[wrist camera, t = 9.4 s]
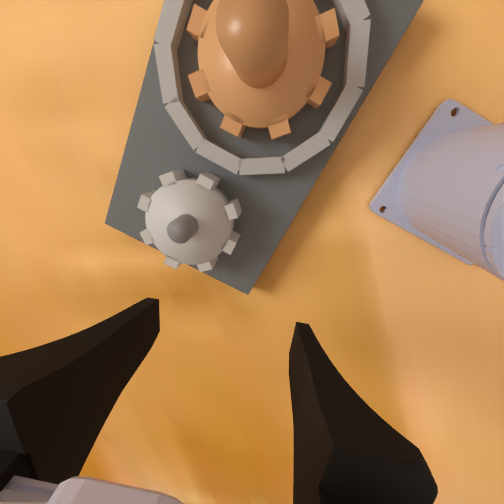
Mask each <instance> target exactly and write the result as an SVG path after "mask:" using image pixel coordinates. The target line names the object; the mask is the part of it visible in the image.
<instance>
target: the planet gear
mask: <svg viewBox="0 0 504 504" xmlns="http://www.w3.org/2000/svg"><path fill="white" fill-rule="evenodd" d="M186 30H187V31H188V32H189V33H190V35H191V36H192V37H193V38H194V40H195V41H197V42H198V65H199V70H198V71H196V72H194V73H192V74H189V75H188V78H189V81H190V83H191V86H192V89H193V92H194V95H195V97H196V98H197V99H198V100H200V101H202V102H205V101H207V100H209V99H211V100H212V101H213V103H214V104H215V106H216V107H217V108H218V109H219V110H220V111H221V112H222V113H223V114H225V116H224V118H223V121H222V123H221V126H220V128H222V129H224V130H226V131H227V132H229V133H231V134H233V135H235V136H237V137H240V138H241V137H242V135H243V132H244V130H245V128H246V127H249V128H255V129H267V128H269V132H270V135H271V139H272V140H274V139H277V138H280V137H282V136H285V135H288V134H290V133H291V131H290V127H289V123H288V120H290V119H291V118H293V117H294V116H295V115H296V114H297V113H298V112H299V111H300V110H301V109H302V108H303V107H304V106H305V104H306V103H307V104H309V105H311V106H312V107H314V108H316V109H317V108H318V107H319V106H320V105H321V103H322V101H323V99H324V97H325V95H326V93H327V91H328V90H329V88H330V86H331V84H332V82H330V81H328V80H326V79H325V78H323V77H321V76H320V75H321V72H322V68H323V63H324V56H325V50H326V49H329V48H331V47H333V46H335V44H336V42H337V40H338V38H339V36H340V35H339V29H338V23H337V18H336V12H335V8H333V9H331V10H329V11H326V12H324V13H322V14H319V11H318V9H317V7H316V5H315V3H314V1H313V0H213V2H212V3H211V5H210V7H209V9H208V11H206V10H205V9H203V8H201V7H199V6H198V5H196V4H194V6H193V9H192V13H191V16H190V19H189V23H188V26H187V29H186Z"/></svg>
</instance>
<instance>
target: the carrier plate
mask: <svg viewBox="0 0 504 504" xmlns="http://www.w3.org/2000/svg"><path fill="white" fill-rule="evenodd" d="M313 1H314V3H315V5H316V7H317V9H318V11H319V14H322V13H324V12H326V11H329V10H331V9H333V8H335V12H336V18H337V23H338V29H339V35H340V36H339V38H338V40H337V42H336V44H335V46H333V47H331V48H329V49H326V50H325V56H324V63H323V68H322V72H321V75H320V76H321V77H323V78H325V79H326V80H328V81H330V82H332V84H331V86H330V88H329V90H328V91H327V93H326V95H325V97H324V99H323V101H322V103H321V105H320V106H319V107H318V108H317V109H316V108H314V107H312V106H311V105H309V104H307V103H306V104H305V106H304V107H303V108H302V109H301V110H300V111H299V112H298V113H297V114H296V115H295V116H294V117H293V118H291V119H290V120H288V123H289V127H290V131H291V133H290V134H288V135H285V136H282V137H280V138H277V139H274V140H272V139H271V135H270V132H269V128H267V129H255V128H249V127H246V128H245V130H244V132H243V135H242V137H241V138H240V137H237V136H235V135H233V134H231V133H229V132H227V131H226V130H224V129H222V128H220V126H221V123H222V121H223V118H224V116H225V114H223V113H222V112H221V111H220V110H219V109H218V108H217V107H216V106H215V104H214V103H213V101H212V100H211V99H209V100H207V101H205V102H202V101H200V100H198V99H197V98H196V97H195V95H194V92H193V89H192V86H191V83H190V81H189V78H188V75H189V74H192V73H194V72H196V71H198V70H199V65H198V42H197V41H195V40H194V38H193V37H192V36H191V35H190V33H189V32H188V31H187V30H186V29H187V26H188V23H189V19H190V16H191V13H192V9H193V6H194V4H196V5H198V6H199V7H201V8H203V9H205V10H206V11H208V9H209V7H210V5H211V3H212V2H213V0H164V4H163V7H162V11H161V15H160V19H159V22H158V26H157V30H156V33H155V37H154V44H153V47H152V51H151V55H150V58H149V62H148V66H147V69H146V73H145V77H144V81H143V84H142V88H141V92H140V95H139V99H138V103H137V106H136V110H135V114H134V117H133V121H132V125H131V129H130V132H129V136H128V140H127V143H126V147H125V151H124V154H123V158H122V162H121V165H120V169H119V173H118V177H117V180H116V184H115V188H114V191H113V195H112V199H111V202H110V206H109V210H108V214H107V217H106V221H105V224H107V225H109V226H111V227H113V228H115V229H117V230H119V231H121V232H123V233H125V234H127V235H129V236H131V237H133V238H135V239H137V240H139V241H141V242H143V243H145V245H149V246H151V247H153V248H155V249H157V250H159V251H161V252H162V253H163V254H164V255H165V256H167V257H166V259H165V262H164V264H166V265H168V266H170V267H172V268H174V269H177V268H178V267H179V266H180V264H181V263H182V264H187V265H189V266H191V267H193V268H195V269H197V270H199V271H200V272H203V273H205V274H207V275H209V276H211V277H213V278H215V279H217V280H219V281H221V282H223V283H225V284H227V285H229V286H231V287H233V288H235V289H237V290H239V291H241V292H243V293H245V294H247V295H248V294H249V293H250V291H251V289H252V288H253V286H254V284H255V283H256V281H257V279H258V278H259V276H260V274H261V273H262V271H263V269H264V268H265V266H266V264H267V263H268V261H269V259H270V257H271V256H272V254H273V252H274V251H275V249H276V247H277V246H278V244H279V242H280V241H281V239H282V237H283V236H284V234H285V232H286V231H287V229H288V227H289V226H290V224H291V222H292V221H293V219H294V217H295V216H296V214H297V212H298V211H299V209H300V207H301V205H302V204H303V202H304V200H305V199H306V197H307V195H308V194H309V192H310V190H311V189H312V187H313V185H314V184H315V182H316V180H317V179H318V177H319V175H320V174H321V172H322V170H323V169H324V167H325V165H326V164H327V162H328V160H329V159H330V157H331V155H332V153H333V152H334V150H335V148H336V147H337V145H338V143H339V142H340V140H341V138H342V137H343V135H344V133H345V132H346V130H347V128H348V127H349V125H350V123H351V122H352V120H353V118H354V117H355V115H356V113H357V112H358V110H359V108H360V107H361V105H362V103H363V101H364V100H365V98H366V96H367V95H368V93H369V91H370V90H371V88H372V86H373V85H374V83H375V81H376V80H377V78H378V76H379V75H380V73H381V71H382V70H383V68H384V66H385V65H386V63H387V61H388V60H389V58H390V56H391V55H392V53H393V51H394V49H395V48H396V46H397V44H398V43H399V41H400V39H401V38H402V36H403V34H404V33H405V31H406V29H407V28H408V26H409V24H410V23H411V21H412V19H413V18H414V16H415V14H416V13H417V11H418V9H419V8H420V6H421V4H422V3H423V0H313Z"/></svg>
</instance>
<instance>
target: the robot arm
mask: <svg viewBox="0 0 504 504" xmlns="http://www.w3.org/2000/svg"><path fill="white" fill-rule="evenodd" d="M452 109H455V110H456V114H455V116H452V115H451V111H452ZM382 206H385V210H384V211H383V212H380V208H381V207H382ZM369 209H370V210H371V211H372V212H374V213H376V214H377V215H379V216H381V217H383V218H385V219H386V220H388V221H390V222H392V223H394V224H395V225H397V226H399V227H401V228H403V229H404V230H406V231H408V232H410V233H412V234H414V235H415V236H417V237H419V238H421V239H423V240H424V241H426V242H428V243H430V244H432V245H433V246H435V247H437V248H439V249H441V250H443V251H444V252H446V253H448V254H450V255H452V256H453V257H455V258H457V259H459V260H461V261H462V262H464V263H466V264H468V265H473V264H476V265H477V266H479V267H481V268H482V269H484V270H486V271H487V272H489V273H491V274H492V275H494V276H496V277H498V278H499V279H501V280H503V281H504V123H500V124H493V123H491V122H490V121H488V120H486V119H485V118H483V117H482V116H480V115H478V114H477V113H475V112H473V111H472V110H470V109H468V108H467V107H465V106H464V105H462V104H460V103H459V102H457V101H455V100H453V99H448V100H445V101H443V102H442V103H441V104H440V105H439V106H438V107H437V109H436V110H435V112H434V113H433V114H432V116H431V117H430V119H429V120H428V121H427V123H426V124H425V126H424V127H423V128H422V130H421V131H420V133H419V134H418V135H417V137H416V138H415V140H414V141H413V143H412V144H411V145H410V147H409V148H408V150H407V151H406V152H405V154H404V155H403V157H402V158H401V159H400V161H399V162H398V164H397V165H396V167H395V168H394V169H393V171H392V172H391V174H390V175H389V176H388V178H387V179H386V181H385V182H384V183H383V185H382V186H381V188H380V189H379V191H378V192H377V193H376V195H375V196H374V198H373V199H372V200H371V202H370V204H369ZM159 331H160V321H159V299H154V298H146V299H144V300H142V301H140V302H138V303H136V304H134V305H132V306H131V307H129V308H127V309H125V310H123V311H121V312H120V313H118V314H116V315H114V316H112V317H110V318H108V319H106V320H104V321H102V322H100V323H98V324H96V325H94V326H92V327H89V328H87V329H85V330H83V331H80V332H78V333H75V334H73V335H70V336H68V337H65V338H62V339H59V340H56V341H53V342H51V343H48V344H45V345H42V346H39V347H35V348H32V349H28V350H25V351H21V352H17V353H14V354H10V355H6V356H2V357H0V504H183V503H182V502H181V501H179V500H178V499H177V498H175V497H173V496H170V495H167V494H164V493H162V492H158V491H153V490H148V489H143V488H139V487H134V486H129V485H124V484H119V483H115V482H110V481H105V480H100V479H96V478H91V477H78V476H79V474H80V472H81V469H82V467H83V465H84V463H85V461H86V459H87V457H88V455H89V453H90V451H91V449H92V447H93V445H94V443H95V441H96V439H97V437H98V435H99V433H100V431H101V429H102V427H103V425H104V423H105V421H106V419H107V417H108V416H109V414H110V412H111V410H112V408H113V406H114V405H115V403H116V401H117V399H118V397H119V396H120V394H121V392H122V391H123V389H124V388H125V386H126V385H127V383H128V382H129V380H130V379H131V377H132V376H133V374H134V373H135V371H136V370H137V368H138V367H139V365H140V364H141V363H142V361H143V360H144V358H145V357H146V355H147V354H148V352H149V351H150V349H151V347H152V345H153V344H154V342H155V340H156V338H157V336H158V333H159ZM289 380H290V390H291V401H292V411H293V425H294V484H293V504H433V503H434V501H435V498H436V496H437V494H438V488H437V484H436V482H435V480H434V478H433V476H432V474H431V471H430V469H429V467H428V465H427V463H426V461H425V459H424V457H423V455H422V454H421V452H420V450H419V448H417V447H416V446H415V445H414V444H412V443H411V442H410V441H409V440H407V439H406V438H405V437H403V436H402V435H401V434H400V433H398V432H397V431H396V430H395V429H393V428H392V427H391V426H390V425H389V424H388V423H387V422H385V421H384V420H383V419H382V418H381V417H380V416H379V415H378V414H377V413H376V412H374V411H373V410H372V409H371V408H370V407H369V406H368V405H367V404H366V403H365V402H364V401H363V400H362V399H361V398H360V397H359V396H358V394H357V393H356V392H355V391H354V390H353V389H352V388H351V387H350V385H349V384H348V383H347V382H346V381H345V380H344V378H343V377H342V376H341V375H340V373H339V372H338V371H337V369H336V368H335V366H334V365H333V364H332V362H331V361H330V359H329V358H328V356H327V355H326V353H325V351H324V350H323V348H322V347H321V345H320V343H319V342H318V340H317V338H316V336H315V335H314V333H313V331H312V329H311V327H310V326H309V324H305V323H299V322H296V326H295V330H294V335H293V339H292V343H291V348H290V352H289Z"/></svg>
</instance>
